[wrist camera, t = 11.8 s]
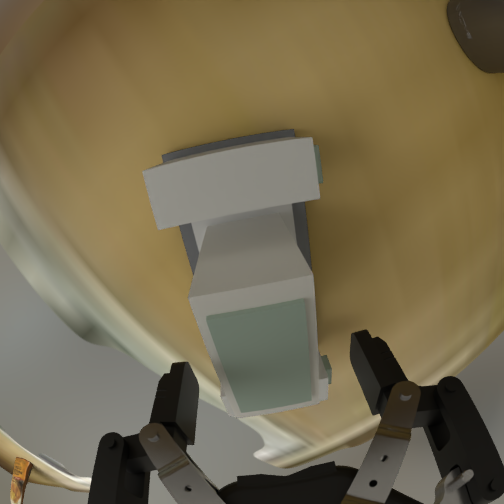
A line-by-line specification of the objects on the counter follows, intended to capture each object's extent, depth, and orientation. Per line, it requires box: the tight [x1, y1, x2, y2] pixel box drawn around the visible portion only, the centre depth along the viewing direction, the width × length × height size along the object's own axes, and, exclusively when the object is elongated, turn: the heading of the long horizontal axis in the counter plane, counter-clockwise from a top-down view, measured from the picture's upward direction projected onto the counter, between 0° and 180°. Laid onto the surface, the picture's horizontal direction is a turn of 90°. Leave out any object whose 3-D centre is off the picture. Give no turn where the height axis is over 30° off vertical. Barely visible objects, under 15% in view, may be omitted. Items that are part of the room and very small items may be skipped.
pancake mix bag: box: [11, 457, 33, 504], centre depth 38 cm, size 7×19×28 cm, turn 119°
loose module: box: [188, 213, 319, 418], centre depth 16 cm, size 5×9×9 cm, turn 10°
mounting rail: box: [143, 129, 332, 417], centre depth 19 cm, size 9×20×7 cm, turn 10°
